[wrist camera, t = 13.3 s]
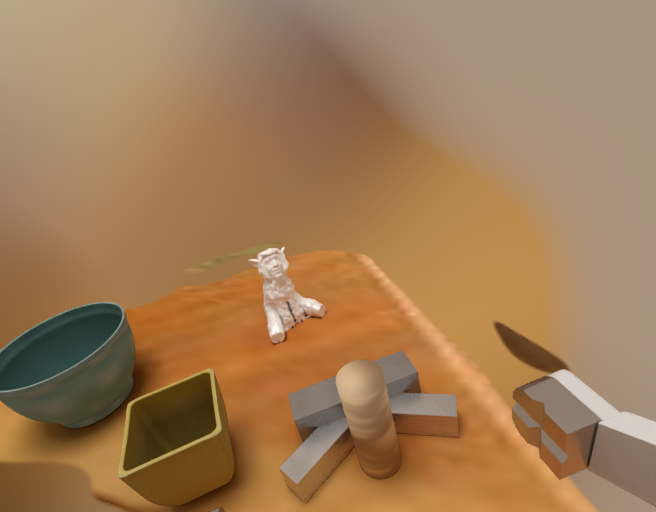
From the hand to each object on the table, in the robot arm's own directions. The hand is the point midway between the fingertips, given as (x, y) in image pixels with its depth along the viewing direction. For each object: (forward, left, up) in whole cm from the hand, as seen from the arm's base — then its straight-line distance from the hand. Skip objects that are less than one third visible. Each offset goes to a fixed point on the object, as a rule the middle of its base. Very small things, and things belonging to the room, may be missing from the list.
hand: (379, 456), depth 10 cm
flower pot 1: (-29, +41, -26) cm, 57 cm away
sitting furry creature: (-1, +44, -26) cm, 51 cm away
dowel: (+3, +17, -26) cm, 31 cm away
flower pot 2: (-14, +23, -26) cm, 37 cm away
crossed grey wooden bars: (+3, +20, -26) cm, 33 cm away
